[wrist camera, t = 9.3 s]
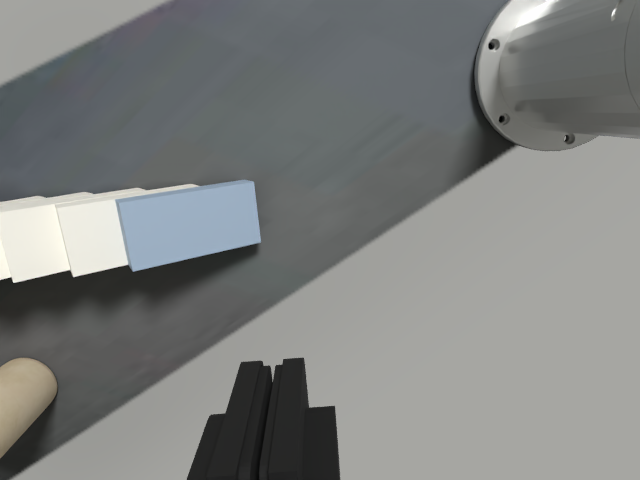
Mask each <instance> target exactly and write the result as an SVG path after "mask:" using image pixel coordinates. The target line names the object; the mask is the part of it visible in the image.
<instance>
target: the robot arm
mask: <svg viewBox="0 0 640 480" xmlns="http://www.w3.org/2000/svg"><path fill="white" fill-rule="evenodd" d="M489 43H491V44H492V45H493V48H492V49H491V50H489V48H488V44H489ZM474 75H475V90H476V94H477V98H478V101H479V105H480V107H481V109H482V111H483V113H484V115H485V117H486V119H487V120H488V121H489V123H490V124H491V125H492V127H493V128H494V129H495V130H496V131H497V132H498V133H500V134H501V135H502V136H503V137H504V138H505V139H507V140H509V141H511V142H513V143H515V144H516V145H519V146H522V147H526V148H529V149H534V150H540V151H560V150H566V149H571V148H574V147H577V146H579V145H582V144H584V143H587V142H589V141H591V140H592V139H594V138H596V137H597V136H599V135H601V136H613V137H624V138H635V139H640V0H509V1H508V2H507V3H506V4H505V5H504V6H503V7H502V8H501V9H500V10H499V11H498V12H497V14H496V15H495V16H494V18H493V19H492V21H491V22H490V23H489V25H488V27H487V29H486V31H485V33H484V35H483V37H482V39H481V42H480V46H479V49H478V52H477V56H476V63H475V71H474ZM500 116H502V117H503V120H502V122H499V117H500ZM565 136H566V140H565V141H564V137H565ZM305 373H306V372H305V364H304V358H292V359H283V365H276V366H275V373H274V379H273V382H272V374H271V367H270V366H263V362H262V361H251V362H241V364H240V367H239V370H238V374H237V377H236V381H235V384H234V387H233V390H232V394H231V397H230V401H229V404H228V407H227V411H226V414H214V415H211V416H209V418H208V421H207V424H206V427H205V429H204V432H203V435H202V438H201V440H200V443H199V446H198V449H197V452H196V455H195V458H194V460H193V463H192V466H191V469H190V472H189V474H188V477H187V480H340V471H339V470H340V469H339V455H338V440H337V427H336V415H335V406H327V407H313V408H309V404H308V394H307V383H306V374H305Z"/></svg>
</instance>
